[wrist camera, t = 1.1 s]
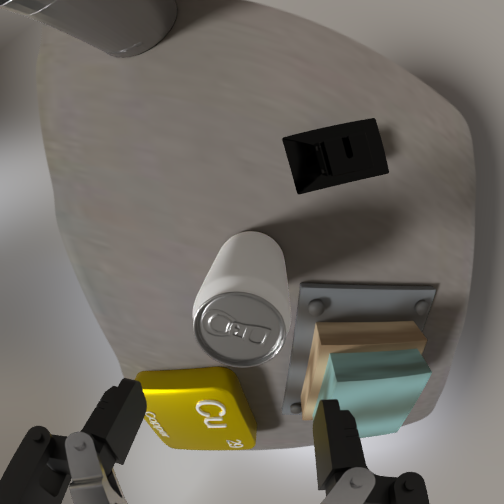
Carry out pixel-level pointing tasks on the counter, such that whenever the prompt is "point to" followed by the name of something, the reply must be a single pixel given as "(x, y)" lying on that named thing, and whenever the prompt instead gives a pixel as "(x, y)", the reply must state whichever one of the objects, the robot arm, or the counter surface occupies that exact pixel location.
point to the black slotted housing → (335, 155)
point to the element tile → (198, 409)
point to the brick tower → (359, 352)
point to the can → (244, 302)
